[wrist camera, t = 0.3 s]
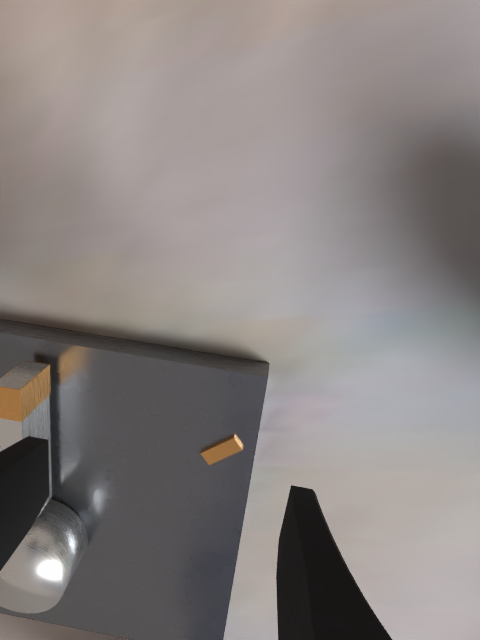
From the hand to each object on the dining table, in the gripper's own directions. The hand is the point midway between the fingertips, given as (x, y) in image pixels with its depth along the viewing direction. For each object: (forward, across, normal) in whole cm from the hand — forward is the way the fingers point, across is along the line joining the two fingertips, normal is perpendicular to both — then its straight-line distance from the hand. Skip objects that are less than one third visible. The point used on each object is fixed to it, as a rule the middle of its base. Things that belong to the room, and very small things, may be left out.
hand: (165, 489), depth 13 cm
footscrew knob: (+8, +8, +8) cm, 14 cm away
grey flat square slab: (+10, +7, +10) cm, 16 cm away
